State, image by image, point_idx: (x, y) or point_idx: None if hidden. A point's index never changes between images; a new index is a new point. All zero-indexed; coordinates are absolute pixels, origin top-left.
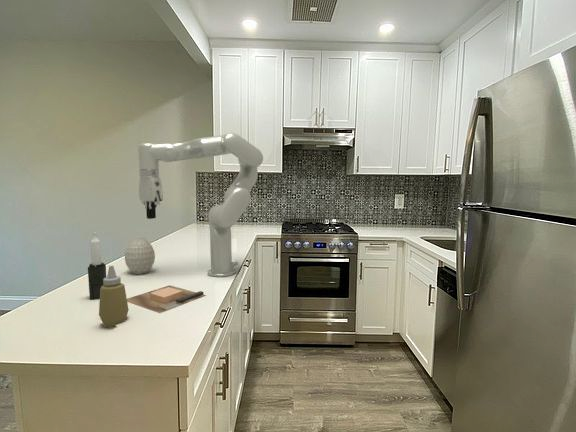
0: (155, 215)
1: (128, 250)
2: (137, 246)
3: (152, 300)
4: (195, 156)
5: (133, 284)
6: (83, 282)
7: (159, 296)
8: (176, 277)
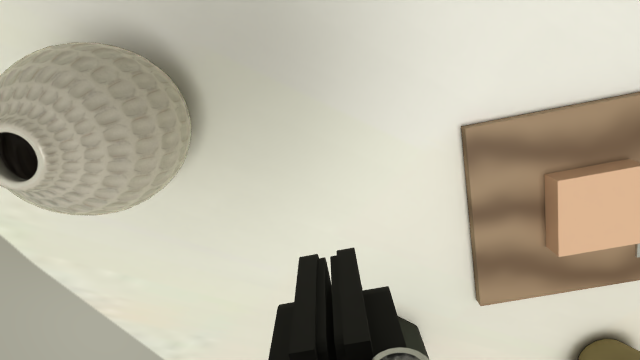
0: (356, 265)
1: (102, 213)
2: (118, 181)
3: None
4: None
5: (306, 206)
6: (156, 318)
7: (615, 246)
8: (340, 27)
